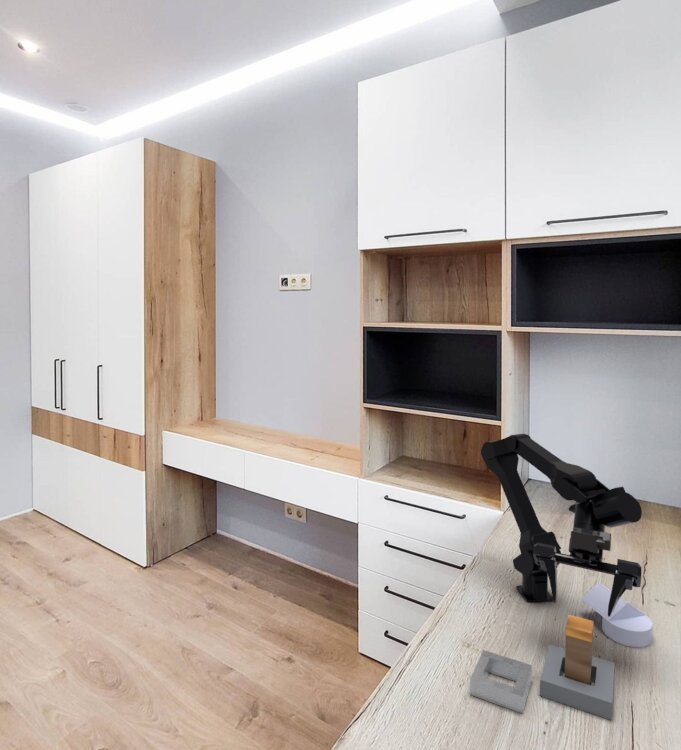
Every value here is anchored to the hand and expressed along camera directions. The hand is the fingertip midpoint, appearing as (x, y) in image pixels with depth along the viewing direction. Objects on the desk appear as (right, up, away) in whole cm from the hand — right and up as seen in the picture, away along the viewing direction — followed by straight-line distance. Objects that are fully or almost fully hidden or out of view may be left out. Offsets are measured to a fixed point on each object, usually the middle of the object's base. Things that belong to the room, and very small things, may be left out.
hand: (581, 608), depth 92 cm
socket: (-3, -12, -4) cm, 13 cm away
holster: (-16, -12, -4) cm, 21 cm away
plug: (-3, -12, -4) cm, 13 cm away
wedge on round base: (+14, -10, +13) cm, 22 cm away
